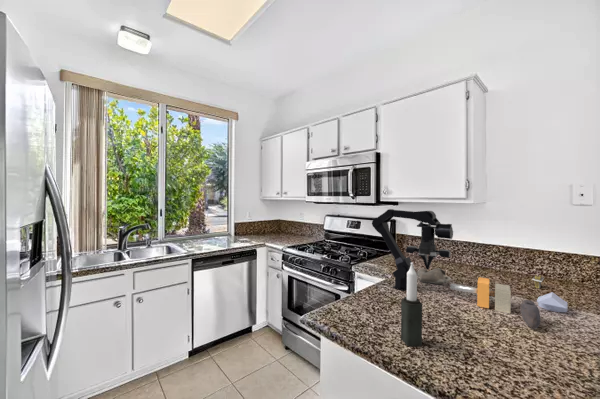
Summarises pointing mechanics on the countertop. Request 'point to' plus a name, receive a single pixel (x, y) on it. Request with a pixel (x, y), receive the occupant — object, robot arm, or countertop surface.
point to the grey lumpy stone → (433, 276)
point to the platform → (538, 280)
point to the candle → (411, 312)
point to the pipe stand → (492, 295)
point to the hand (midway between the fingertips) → (427, 269)
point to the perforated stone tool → (530, 314)
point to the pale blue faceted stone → (552, 302)
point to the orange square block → (483, 292)
